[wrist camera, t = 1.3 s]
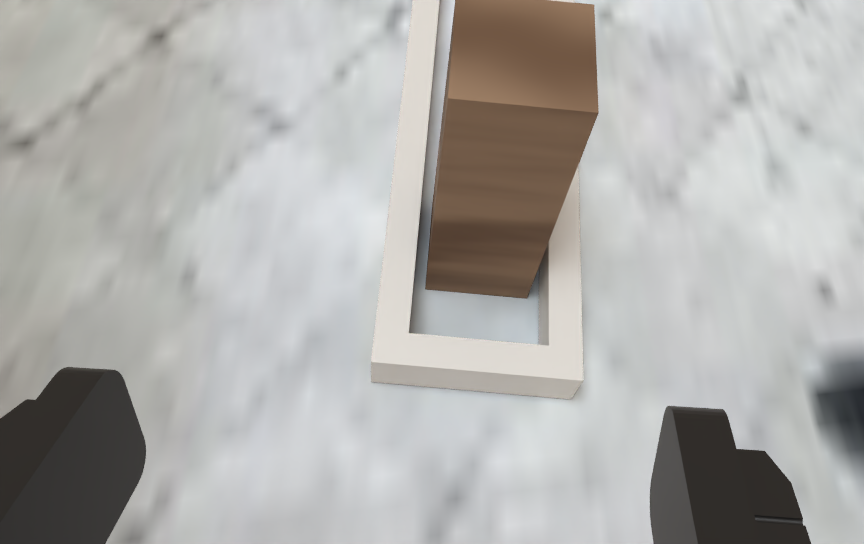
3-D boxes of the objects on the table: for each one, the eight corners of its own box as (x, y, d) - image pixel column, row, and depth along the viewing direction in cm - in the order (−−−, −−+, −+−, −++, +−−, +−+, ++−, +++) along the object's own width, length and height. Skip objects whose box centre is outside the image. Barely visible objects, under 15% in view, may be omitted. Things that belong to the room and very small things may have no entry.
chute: (570, 399, 35) (583, 380, 33) (371, 381, 35) (370, 361, 33) (564, 3, 48) (573, -30, 45) (416, -11, 47) (418, -45, 45)
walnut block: (526, 298, 38) (598, 112, 25) (425, 289, 38) (448, 98, 25) (527, 212, 40) (594, 4, 28) (432, 203, 40) (456, -10, 28)
